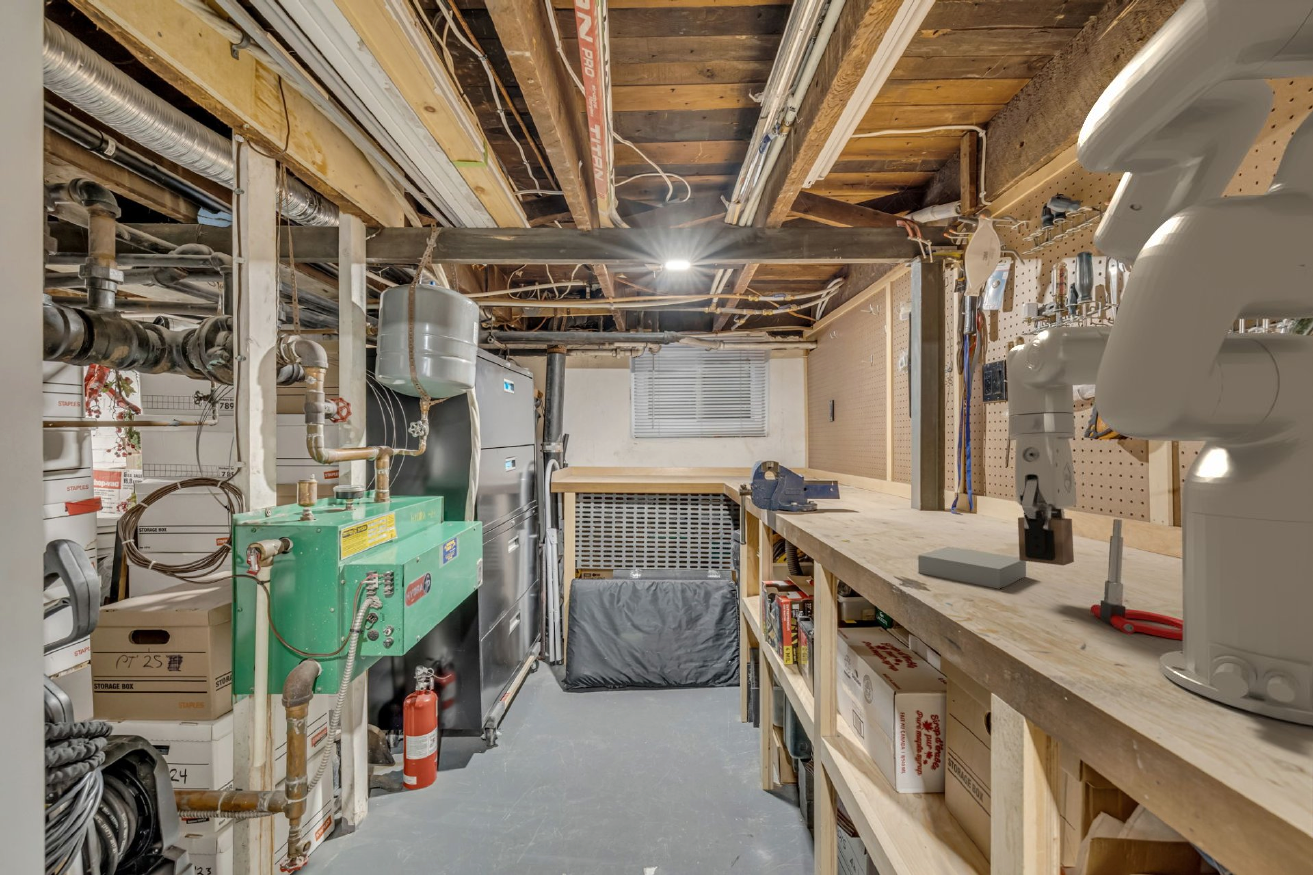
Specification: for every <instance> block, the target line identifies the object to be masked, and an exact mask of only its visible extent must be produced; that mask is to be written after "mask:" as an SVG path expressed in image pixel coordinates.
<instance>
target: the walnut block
mask: <svg viewBox="0 0 1313 875" xmlns="http://www.w3.org/2000/svg"><path fill="white" fill-rule="evenodd" d="M1043 519H1044V517H1043ZM1017 528H1018V552H1019V553H1018V554H1019V555H1018V556H1019V558H1020V560H1021V561H1026V562H1031V563H1038V564H1039V563H1040V564H1048V565H1055V566H1057V565H1058V566H1066V565H1069V564H1072V563H1074V562H1075V559H1074V558H1075V557H1074V540H1073V539H1074V538H1073V537H1074V535H1073V519H1072V518H1066V517H1065V518H1051V528H1050V530H1051V531H1054V550H1055V559H1054V560H1042V559H1033V558H1027V557H1026V555H1025V530H1024V529H1025V528H1024V516H1022V517H1017Z"/></svg>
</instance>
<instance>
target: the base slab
mask: <svg viewBox="0 0 1313 875" xmlns="http://www.w3.org/2000/svg"><path fill="white" fill-rule="evenodd" d="M917 556H918V559H917V560H918V562H917V563H918V569H917V570H918V571H917V572H918V574H922V575H927V576H932V577H938V578H943V579H947V580H953V581H957V582H963V583H968V584H973V585H979V586H982V587H983V586H984V587H988V588H992V587H993V588H994V589H1000V588H1001V589H1003V588H1005V587H1007V586H1008V585H1012V584H1013V583H1016V582H1018V581H1019V579H1020V580H1022V579H1024V578H1026V577H1027V561H1021V560H1020V558H1019V557H1017V556H1011V555H1004V554H999V553H992V552H984V551H978V550H973V549H972V550H971V549H967V548H966V549H965V548H958V547H951V546H947V547H946V546H945V547H942V548H940V549H936V550H931V551H929V552H925V553H921V554H919V555H918V554H917ZM1025 576H1026V577H1025ZM1021 578H1022V579H1021ZM1017 580H1018V581H1017ZM1015 581H1016V582H1015ZM1012 582H1013V583H1012ZM1002 587H1003V588H1002ZM993 588H992V589H993Z"/></svg>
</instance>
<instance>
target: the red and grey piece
mask: <svg viewBox="0 0 1313 875" xmlns="http://www.w3.org/2000/svg"><path fill="white" fill-rule="evenodd" d="M1122 526H1123V520H1122V519H1118V518H1114V519H1113V522H1112V535H1110V537H1109V552H1108V554H1109V556H1108V569H1107V571H1108V572H1107V580H1105V582H1104V595H1103V600H1101V599H1100V604H1093V605H1091V607H1090V609H1089V610H1090V612H1091V614H1093V615H1094V616H1096V617H1097V618H1099V619H1100V620H1101V621H1103V622H1104V623H1107V624H1108V625H1109V624H1110V625H1109V626H1112V627H1113V626H1115V627H1114V628H1116V629H1118V630H1120V631H1121V632H1123V633H1125V634H1128V633H1130V635H1132V634H1134V633H1135V632H1139V633H1144V634H1148V635H1152V636H1156V637H1162V638H1167V639H1172V640H1173V639H1174V640H1178V639H1179V640H1180V641H1183V619H1180V618H1177V617H1176V618H1175V617H1173V616H1168V615H1165V614H1160V613H1154V612H1150V611H1144V610H1137V609H1129V608H1127V607H1126V606H1125V605H1123V598H1124V597H1123V596H1124V584H1123V583H1122V566H1123V565H1122V564H1123V550H1124V537H1123V536H1122ZM1131 619H1136V620H1137V621H1136V620H1131ZM1138 620H1143V621H1150V622H1154V621H1155V622H1154V623H1160V624H1163V623H1165V624H1164V625H1167V624H1168V625H1167V626H1170V625H1171V626H1170V627H1174V626H1175V627H1174V628H1167V627H1161V626H1156V625H1151V624H1148V623H1143V622H1141V621H1138ZM1176 627H1177V629H1175V628H1176ZM1179 628H1180V629H1179ZM1179 640H1178V641H1179Z"/></svg>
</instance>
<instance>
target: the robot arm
mask: <svg viewBox="0 0 1313 875" xmlns="http://www.w3.org/2000/svg"><path fill="white" fill-rule="evenodd" d="M1306 77H1309V78H1310V77H1313V0H1185V1H1184V2H1183V4H1181V6H1180V7H1178V8H1177V10H1176V11H1175V12H1174V13H1173V14H1172V15H1171V16H1170V18H1168V19H1167V21H1166V22H1165V23H1164V24H1163V25H1162V26H1161V27H1160V28H1159V29H1158V30H1157V31H1156V32H1155V33H1154V34H1153V35H1152V36H1151V38H1149V40H1147V42H1146V43H1145V44H1143V46H1142V47H1141V48H1140V49H1139V50H1138V51H1137V53H1136V54H1135V55H1134V56H1133V57H1132V58H1131V59H1130V60H1129V62H1127V63H1126V65H1125V66H1124V67H1123V68H1122V69H1121V70H1120V71H1119V73H1118V74H1117V75H1116V76H1115V77H1114V79H1113V80H1112V81H1111V82H1110V83H1109V85H1108V86H1107V87H1106V88H1105V89H1104V91H1103V92H1102V93H1101V95H1100V96H1099V98H1098V99H1097V101H1096V102H1095V103H1094V105H1093V106H1092V108H1091V110H1090V111H1089V113H1088V115H1087V117H1086V118H1085V120H1084V123H1083V125H1082V128H1081V130H1080V133H1079V136H1078V139H1077V144H1076V158H1077V161H1078V164H1079V166H1081V168H1083V170H1085V171H1088V172H1090V173H1093V174H1119V173H1120V174H1121V173H1123V175H1122V178H1121V179H1120V182H1119V184H1118V186H1117V188H1116V190H1115V191H1114V194H1113V197H1112V198H1111V200H1110V202H1109V205H1108V206H1107V209H1106V211H1105V212H1104V214H1103V216H1102V218H1101V221H1100V223H1099V225H1098V227H1097V229H1096V231H1095V232H1094V235H1093V241H1092V242H1093V245H1094V247H1095V248H1096V249H1097V250H1098V251H1099V252H1100V253H1101V254H1103V255H1105V256H1107V257H1108V258H1110V259H1112V260H1115V261H1118V262H1120V263H1122V264H1125V265H1127V266H1130V267H1132V268H1131V270H1130V273H1129V276H1128V278H1127V282H1126V284H1125V288H1124V291H1123V294H1122V296H1121V300H1120V302H1119V306H1118V308H1117V312H1116V315H1115V318H1114V320H1113V323H1112V325H1096V326H1095V325H1093V326H1092V325H1089V326H1088V325H1087V326H1086V325H1085V326H1055V327H1051V328H1048V329H1046V330H1043V331H1041V332H1039V333H1038V334H1037V335H1035V336H1034V337H1033V338H1032V339H1030V340H1029V341H1028V342H1025V343H1022V344H1018V345H1016V346H1014V347H1012V348H1011V349H1009V351H1008V353H1007V355H1006V379H1007V380H1006V381H1007V403H1008V404H1007V406H1008V429H1009V440H1012V441H1015V451H1014V452H1015V456H1014V459H1015V460H1014V478H1015V479H1014V481H1015V482H1014V483H1015V484H1014V485H1015V486H1014V488H1015V496H1016V497H1015V498H1016V502H1017V504H1018V505H1019V506H1020V507H1021V508H1022V511H1023V517H1024V528H1025V529H1024V530H1025V555H1026V557H1027V558H1033V559H1042V560H1054V559H1055V550H1054V531H1051V530H1050V528H1051V518H1066V517H1065V511H1064V510H1065V509H1072V508H1073V507H1075V506H1076V505H1077V504H1078V502H1077V500H1078V498H1077V490H1076V479H1075V471H1074V461H1073V454H1072V453H1073V452H1072V449H1071V444H1070V439H1075V438H1076V431H1075V430H1076V426H1075V409H1074V408H1075V407H1074V404H1075V403H1074V386H1084V385H1086V386H1089V385H1091V386H1092V385H1093V386H1094V385H1095V386H1094V404H1095V408H1096V411H1097V414H1098V416H1099V418H1100V419H1101V421H1102V423H1103V424H1104V425H1105V426H1106V427H1107V428H1108V429H1110V430H1112V431H1113V432H1114V433H1116V434H1119V435H1121V436H1124V437H1127V438H1131V439H1135V440H1136V439H1137V440H1143V441H1159V442H1160V441H1163V442H1179V441H1180V442H1204V445H1203V447H1202V448H1201V450H1200V451H1199V453H1198V454H1197V456H1196V457H1195V458H1194V460H1193V462H1192V463H1191V465H1190V467H1189V469H1188V471H1187V472H1186V475H1185V479H1184V481H1183V485H1182V492H1181V544H1182V545H1181V548H1182V549H1181V552H1182V553H1181V554H1182V555H1181V556H1182V558H1181V560H1182V562H1181V563H1182V566H1181V567H1182V569H1181V570H1182V574H1181V577H1182V579H1181V580H1182V581H1181V582H1182V586H1181V587H1182V592H1181V594H1182V620H1183V640H1182V650H1175V651H1169V652H1165V653H1163V654H1161V655H1160V657H1159V669H1160V671H1161V673H1162V674H1163V675H1165V676H1166V677H1167V678H1168V679H1169V680H1171V681H1172V682H1174V683H1175V684H1177V685H1179V686H1181V687H1182V688H1185V689H1186V690H1189V691H1191V692H1192V693H1195V694H1198V695H1201V696H1203V697H1205V698H1208V699H1211V700H1213V701H1217V702H1219V703H1221V704H1225V705H1228V706H1231V707H1233V708H1237V709H1241V710H1244V711H1246V712H1251V713H1254V714H1259V715H1261V716H1266V717H1269V718H1273V719H1278V720H1282V721H1285V722H1286V721H1287V722H1292V723H1296V724H1302V725H1307V726H1312V727H1313V335H1308V334H1307V335H1306V334H1301V333H1287V332H1230V330H1231V329H1232V326H1233V325H1234V323H1235V321H1236V320H1289V319H1290V320H1292V319H1301V320H1302V319H1313V110H1311V112H1310V113H1309V114H1308V115H1307V116H1306V117H1305V118H1304V120H1303V121H1302V122H1301V123H1300V125H1299V126H1297V129H1295V131H1294V133H1293V135H1292V136H1291V138H1290V139H1289V141H1287V145H1286V146H1285V149H1284V151H1283V154H1282V156H1281V159H1280V162H1279V165H1278V168H1277V170H1276V173H1275V175H1274V176H1273V179H1272V180H1271V183H1270V185H1269V186H1268V189H1267V190H1266V192H1265V193H1264V194H1246V195H1245V194H1241V195H1227V196H1223V194H1224V192H1225V191H1226V189H1227V187H1228V186H1229V184H1230V183H1231V181H1232V179H1233V178H1234V176H1235V175H1236V173H1237V172H1238V170H1239V168H1240V166H1241V165H1242V163H1243V161H1244V159H1245V158H1246V156H1247V154H1248V153H1249V151H1250V149H1251V148H1252V146H1253V145H1254V144H1255V142H1256V140H1257V138H1258V137H1259V135H1260V134H1261V132H1262V131H1263V129H1264V126H1265V125H1266V123H1267V121H1268V120H1269V117H1270V115H1271V113H1272V110H1273V108H1274V107H1273V106H1274V102H1275V94H1274V91H1273V88H1272V85H1270V84H1269V83H1268V82H1267V81H1266V80H1271V79H1273V80H1275V79H1276V80H1277V79H1293V78H1306ZM1043 517H1044V519H1043Z"/></svg>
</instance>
